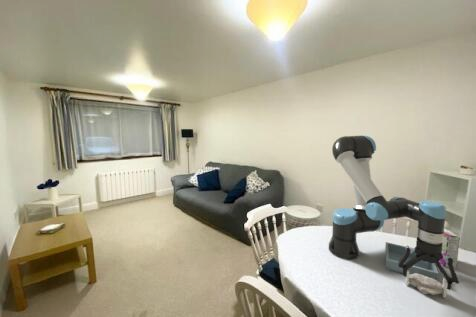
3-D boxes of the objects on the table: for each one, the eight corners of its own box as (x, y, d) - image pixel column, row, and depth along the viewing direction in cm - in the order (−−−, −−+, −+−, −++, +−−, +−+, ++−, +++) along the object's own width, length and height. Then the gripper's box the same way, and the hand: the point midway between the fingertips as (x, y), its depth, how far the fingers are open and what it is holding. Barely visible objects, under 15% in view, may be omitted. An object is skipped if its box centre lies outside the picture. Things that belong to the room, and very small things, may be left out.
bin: (385, 268, 96) (386, 259, 95) (385, 250, 110) (385, 242, 110) (437, 284, 85) (438, 273, 85) (429, 261, 100) (430, 252, 99)
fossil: (436, 296, 76) (408, 272, 84) (427, 304, 79) (401, 280, 87) (449, 287, 79) (421, 264, 87) (440, 295, 82) (413, 273, 90)
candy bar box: (427, 253, 106) (430, 225, 104) (438, 254, 105) (441, 225, 103) (444, 267, 95) (448, 235, 93) (457, 268, 94) (460, 236, 92)
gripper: (393, 235, 84) (390, 283, 86) (476, 253, 70) (468, 309, 73) (392, 228, 90) (389, 273, 92) (468, 243, 76) (462, 295, 79)
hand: (424, 289), depth 83 cm, fingers closed on fossil, 11 cm apart
